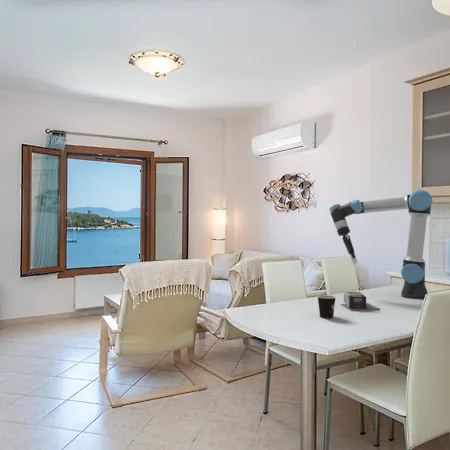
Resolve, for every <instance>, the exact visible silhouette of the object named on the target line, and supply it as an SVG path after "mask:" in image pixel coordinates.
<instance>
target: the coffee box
mask: <svg viewBox="0 0 450 450" xmlns="http://www.w3.org/2000/svg"><path fill="white" fill-rule="evenodd" d="M366 303H367V296H365V295H364V294H363V293H362V292H360V291H343V304H346V305H347V306H348V307H349V308H363V309H365V308H366Z"/></svg>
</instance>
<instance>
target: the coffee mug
mask: <svg viewBox="0 0 450 450" xmlns="http://www.w3.org/2000/svg"><path fill="white" fill-rule="evenodd" d="M336 298H337V297H336V296H333V295H330V294H329V295H328V294H322V295H318V296H317V304H318V312H319V318H321V319H333V318H334V314H335V313H334V312H335V305H336Z"/></svg>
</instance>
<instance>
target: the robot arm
mask: <svg viewBox="0 0 450 450" xmlns="http://www.w3.org/2000/svg"><path fill="white" fill-rule="evenodd" d="M432 205H433V197H432V194H430V193H429V192H428V191H427V190H424V189H423V190H422V189H421V190H420V189H418V190H415V191H413V192H412V193H410V194H406V196H401V197H393V198H383V199H376V200H374V199H373V200H367V201H360V200H359V199H355V200H352V201H350V202H348V203H345V204H343V205H341V204H340V203H336V204H333V205H331V206H330V207H329V213H330V216H331V218H332V221H333V224H334V225H333V227H335V229H336V232H337V234H338V235H337V236H339V237H341V236H342V238H341V239H342V241H343V244H344V245H345V248H346V250H347V252H348V255H349V256H350V259H351V262H352V265H356V264H358V263H359V261H358V259H357V256H356V254H355V249H354V246H353V243H352V240H351V236H350V235H349V233H351V229H350V227H349V223H348V222H347V219H346V218H347V217H349V216H352V215H359V214H369V213H377V212H390V211H397V210H398V211H400V210H407V211H408V213H407V214H409V216H410V221H409V230H408V239H407V248H406V249H407V250H406V256H405V257H404V258H403V261H402V268H401V269H400V274H401V277H402V279H403V282H404V283H403V286H402V289H401V293H400V295H401V297H403V298H408V299H418V300H420V299H425V298H424V297H425V295H426V294H427V293H428V292H429V291H428V290H427V286H426V260H424V259H425V258H423V256H424V247H425V239H426V238H425V237H426V228H427V220H428V217H429V216H430V215H431V211H432ZM428 294H429V293H428Z"/></svg>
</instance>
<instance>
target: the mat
mask: <svg viewBox="0 0 450 450" xmlns="http://www.w3.org/2000/svg"><path fill="white" fill-rule="evenodd" d="M340 306H342V307H344V308H345V309H347V310H349V311H351V312H352V311H354V312H355V311H380V310H381V308H380V307H377V306H375V305H373V304H371V303H369V302H366V308H365V309H363V308H349V307H348V306H347V305H346V304H345V303H340Z"/></svg>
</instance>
